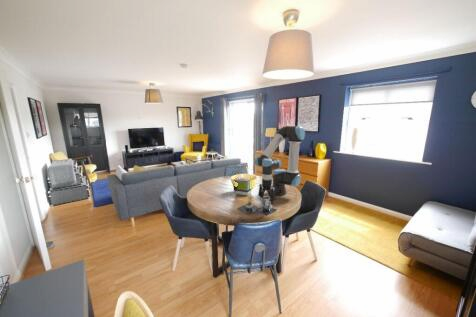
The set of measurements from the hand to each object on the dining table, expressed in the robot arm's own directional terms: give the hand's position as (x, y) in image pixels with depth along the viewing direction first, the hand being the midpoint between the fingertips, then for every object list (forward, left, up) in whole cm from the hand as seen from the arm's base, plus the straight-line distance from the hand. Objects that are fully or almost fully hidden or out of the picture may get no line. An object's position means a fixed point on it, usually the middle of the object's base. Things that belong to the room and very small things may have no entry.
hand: (266, 206), depth 158 cm
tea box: (-12, -40, -4) cm, 42 cm away
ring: (0, 0, +2) cm, 2 cm away
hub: (+8, -11, -3) cm, 14 cm away
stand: (0, 0, -3) cm, 3 cm away
